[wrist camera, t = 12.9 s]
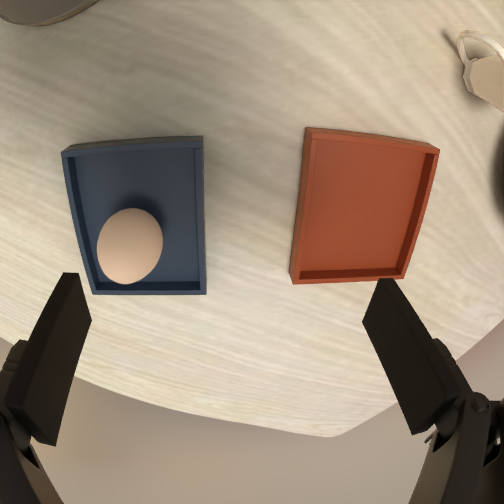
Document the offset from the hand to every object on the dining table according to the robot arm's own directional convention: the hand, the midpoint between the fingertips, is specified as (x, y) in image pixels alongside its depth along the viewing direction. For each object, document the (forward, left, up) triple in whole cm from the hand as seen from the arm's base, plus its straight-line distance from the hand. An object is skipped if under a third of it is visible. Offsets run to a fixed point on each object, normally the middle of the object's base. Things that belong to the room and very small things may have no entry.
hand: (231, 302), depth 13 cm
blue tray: (+4, -8, -17) cm, 19 cm away
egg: (+4, -8, -16) cm, 19 cm away
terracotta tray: (+3, +13, -17) cm, 22 cm away
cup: (-14, +24, -17) cm, 33 cm away
